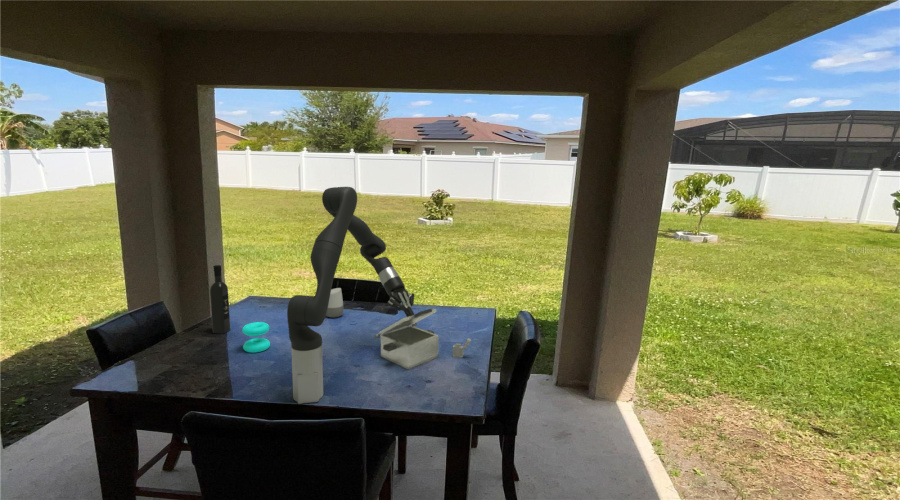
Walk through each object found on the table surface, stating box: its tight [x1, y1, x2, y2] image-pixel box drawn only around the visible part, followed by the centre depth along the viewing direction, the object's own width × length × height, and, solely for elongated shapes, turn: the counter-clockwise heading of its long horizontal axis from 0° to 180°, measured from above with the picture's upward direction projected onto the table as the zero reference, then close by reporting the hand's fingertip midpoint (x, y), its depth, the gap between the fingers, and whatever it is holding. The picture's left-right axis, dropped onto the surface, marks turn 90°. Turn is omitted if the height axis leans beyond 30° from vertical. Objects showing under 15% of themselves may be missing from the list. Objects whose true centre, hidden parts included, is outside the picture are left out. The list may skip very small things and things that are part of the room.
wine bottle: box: [209, 264, 231, 335], centre depth 191 cm, size 6×6×30 cm
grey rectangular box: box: [373, 322, 440, 370], centre depth 172 cm, size 17×24×10 cm
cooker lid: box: [378, 308, 438, 336], centre depth 170 cm, size 20×17×1 cm
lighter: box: [452, 337, 472, 359], centre depth 173 cm, size 7×2×8 cm, turn 76°
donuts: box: [241, 321, 271, 354], centre depth 176 cm, size 10×10×10 cm
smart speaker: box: [326, 287, 344, 319], centre depth 218 cm, size 10×9×14 cm
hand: (411, 317), depth 169 cm, fingers closed
